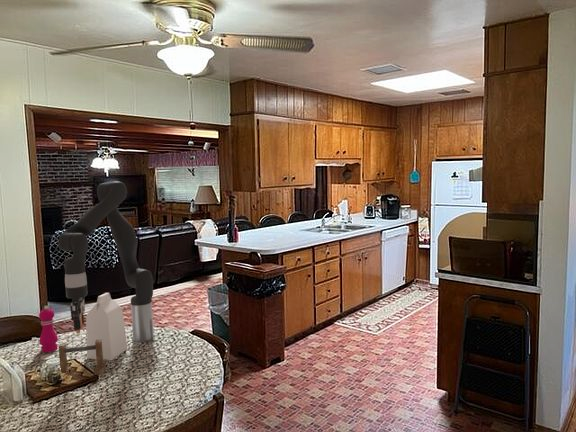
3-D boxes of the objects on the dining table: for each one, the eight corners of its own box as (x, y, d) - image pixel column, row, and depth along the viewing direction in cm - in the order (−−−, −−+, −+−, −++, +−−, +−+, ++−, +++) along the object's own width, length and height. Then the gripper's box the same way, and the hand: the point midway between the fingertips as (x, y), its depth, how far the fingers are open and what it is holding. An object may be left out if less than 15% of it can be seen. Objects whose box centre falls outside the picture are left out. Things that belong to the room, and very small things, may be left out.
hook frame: (106, 364, 178) (104, 335, 177) (102, 374, 168) (100, 344, 167) (63, 369, 174) (60, 340, 173) (56, 381, 164) (54, 350, 163)
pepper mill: (52, 352, 191) (49, 308, 189) (36, 353, 191) (33, 308, 190) (61, 346, 198) (58, 303, 197) (46, 346, 199) (42, 303, 197)
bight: (82, 328, 172) (81, 309, 172) (79, 333, 167) (78, 314, 166) (79, 328, 172) (77, 310, 171) (75, 333, 166) (74, 314, 166)
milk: (111, 359, 182) (107, 299, 180) (87, 358, 184) (82, 298, 182) (127, 348, 194) (123, 291, 191) (104, 347, 196) (100, 290, 194)
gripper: (83, 288, 162) (86, 332, 163) (90, 279, 176) (92, 320, 177) (60, 289, 160) (64, 334, 161) (69, 281, 174) (72, 322, 175)
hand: (79, 326), depth 169 cm, fingers closed on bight, 5 cm apart
